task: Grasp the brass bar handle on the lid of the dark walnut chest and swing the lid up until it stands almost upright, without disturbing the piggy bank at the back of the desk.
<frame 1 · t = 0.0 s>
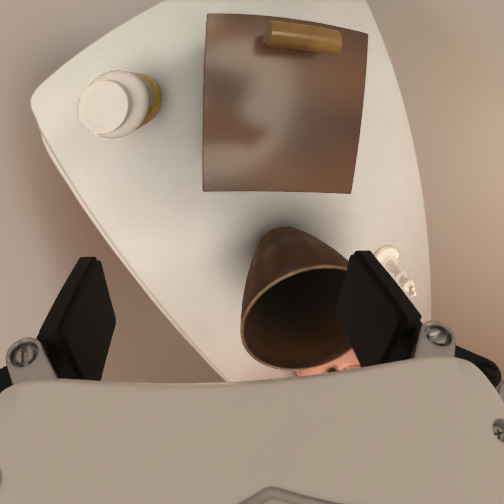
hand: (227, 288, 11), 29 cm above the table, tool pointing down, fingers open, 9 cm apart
flower pot: (281, 249, 45), on the table
supplement bottle: (136, 99, 32), on the table
chess piece: (384, 257, 48), on the table
piggy bank: (329, 358, 60), on the table
lid: (293, 106, 21), point 15 cm above the table, hinge at 0.0°
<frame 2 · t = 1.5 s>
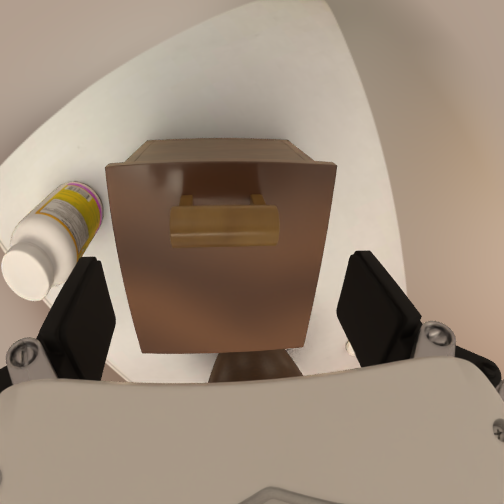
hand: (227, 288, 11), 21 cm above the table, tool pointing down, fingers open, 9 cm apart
chest: (216, 208, 31), on the table
flower pot: (247, 344, 43), on the table
supplement bottle: (78, 208, 29), on the table
lid: (222, 293, 19), point 14 cm above the table, hinge at 0.0°
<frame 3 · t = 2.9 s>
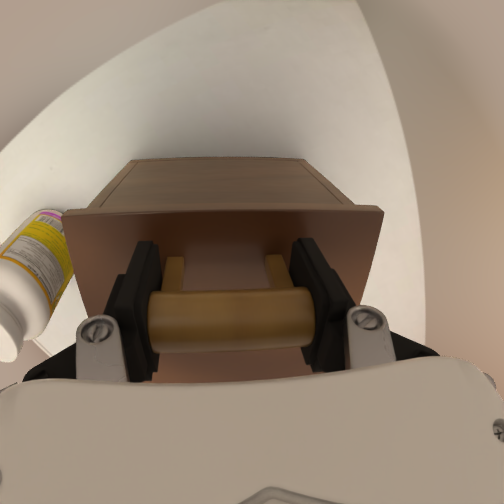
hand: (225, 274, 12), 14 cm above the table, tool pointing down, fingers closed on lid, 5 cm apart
chest: (217, 241, 26), on the table
supplement bottle: (55, 239, 24), on the table
lid: (228, 379, 14), point 15 cm above the table, hinge at 0.0°, touching gripper
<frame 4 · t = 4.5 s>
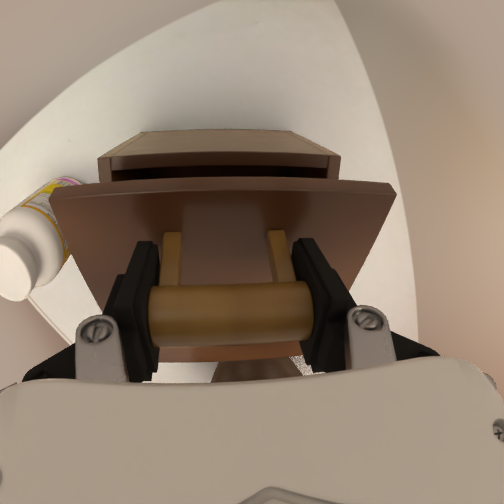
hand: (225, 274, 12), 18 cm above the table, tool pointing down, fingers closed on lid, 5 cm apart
chest: (215, 205, 29), on the table
flower pot: (249, 352, 40), on the table
supplement bottle: (68, 206, 27), on the table
lid: (225, 340, 15), point 17 cm above the table, hinge at 20.0°, touching gripper
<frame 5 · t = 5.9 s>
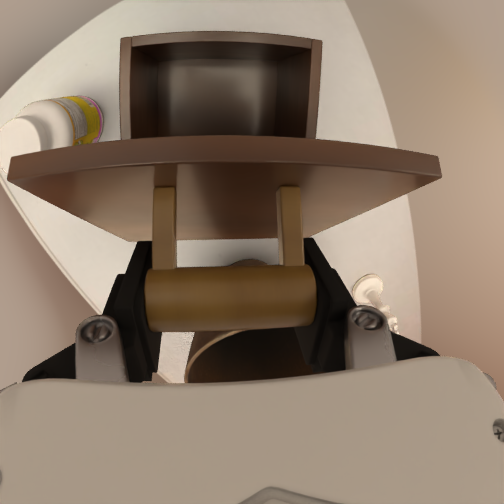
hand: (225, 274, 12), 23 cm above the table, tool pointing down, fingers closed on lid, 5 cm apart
chest: (216, 119, 30), on the table
flower pot: (246, 282, 41), on the table
supplement bottle: (79, 124, 28), on the table
chess piece: (366, 287, 44), on the table
lid: (222, 257, 15), point 20 cm above the table, hinge at 55.5°, touching gripper
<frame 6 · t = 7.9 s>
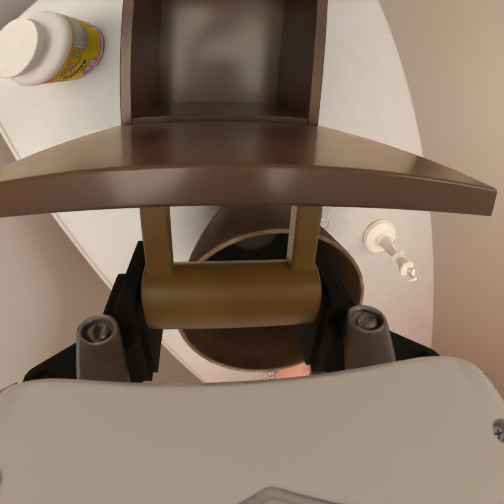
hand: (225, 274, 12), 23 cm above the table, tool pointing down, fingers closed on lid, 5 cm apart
chest: (220, 42, 25), on the table
flower pot: (249, 220, 37), on the table
supplement bottle: (78, 51, 23), on the table
chess piece: (378, 234, 40), on the table
piggy bank: (315, 352, 52), on the table
lid: (223, 190, 13), point 20 cm above the table, hinge at 84.6°, touching gripper
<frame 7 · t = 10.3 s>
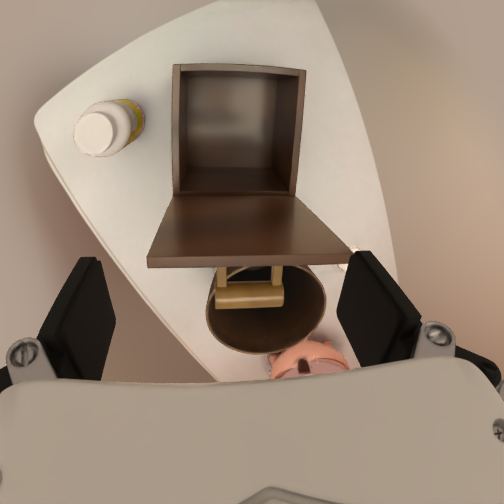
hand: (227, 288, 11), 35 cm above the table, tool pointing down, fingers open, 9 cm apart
chest: (230, 121, 40), on the table
flower pot: (251, 249, 51), on the table
supplement bottle: (123, 121, 38), on the table
chess piece: (349, 257, 54), on the table
piggy bank: (303, 351, 66), on the table
lid: (241, 246, 27), point 20 cm above the table, hinge at 84.8°
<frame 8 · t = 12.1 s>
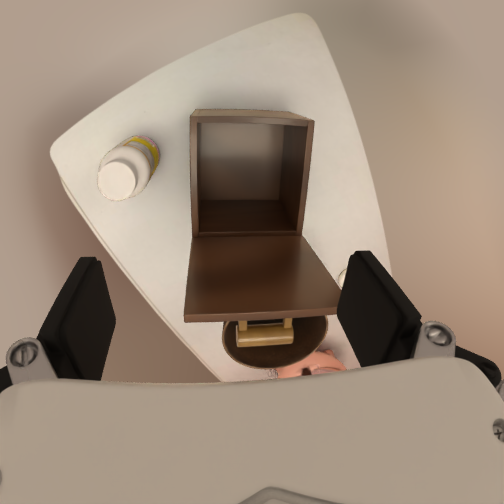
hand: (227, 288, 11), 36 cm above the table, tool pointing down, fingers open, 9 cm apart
chest: (241, 157, 44), on the table
flower pot: (259, 271, 55), on the table
supplement bottle: (139, 155, 42), on the table
chess piece: (349, 276, 59), on the table
piggy bank: (306, 359, 70), on the table
lid: (256, 288, 32), point 20 cm above the table, hinge at 84.8°
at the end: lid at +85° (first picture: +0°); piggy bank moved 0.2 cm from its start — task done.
